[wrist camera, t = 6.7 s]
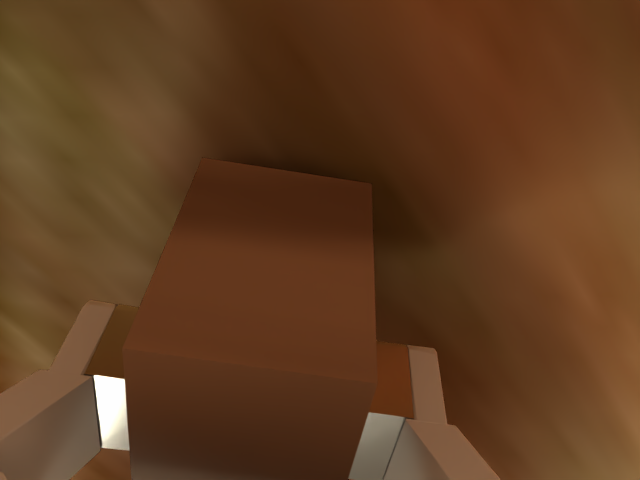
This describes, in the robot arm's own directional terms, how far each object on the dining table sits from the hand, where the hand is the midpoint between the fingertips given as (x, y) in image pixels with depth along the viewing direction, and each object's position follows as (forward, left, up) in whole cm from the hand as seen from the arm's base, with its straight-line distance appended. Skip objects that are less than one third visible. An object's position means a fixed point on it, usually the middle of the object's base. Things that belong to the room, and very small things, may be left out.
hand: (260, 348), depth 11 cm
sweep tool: (+5, +4, -2) cm, 6 cm away
